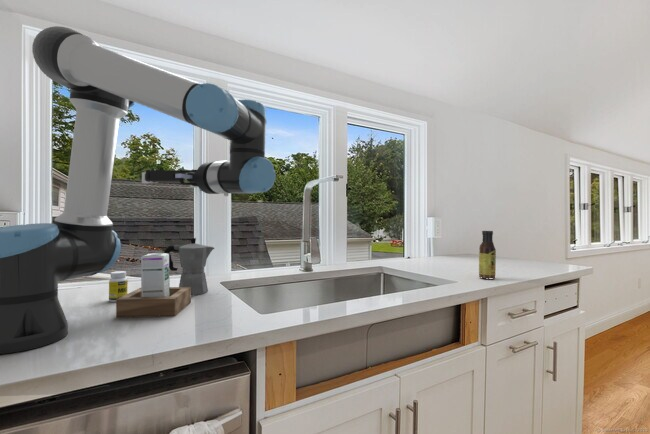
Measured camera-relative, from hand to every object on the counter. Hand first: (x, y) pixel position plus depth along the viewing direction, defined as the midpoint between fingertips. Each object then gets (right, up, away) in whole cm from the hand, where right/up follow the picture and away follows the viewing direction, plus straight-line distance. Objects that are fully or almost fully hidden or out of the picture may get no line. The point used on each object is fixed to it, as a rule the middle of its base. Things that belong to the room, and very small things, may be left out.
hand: (168, 180), depth 94 cm
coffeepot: (-2, -35, +20) cm, 41 cm away
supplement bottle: (-19, -35, +10) cm, 41 cm away
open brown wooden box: (-3, -35, 0) cm, 35 cm away
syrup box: (-3, -34, 0) cm, 35 cm away
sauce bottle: (+109, -36, +50) cm, 126 cm away
